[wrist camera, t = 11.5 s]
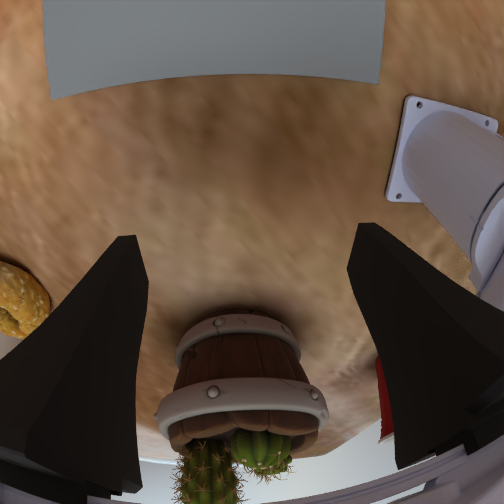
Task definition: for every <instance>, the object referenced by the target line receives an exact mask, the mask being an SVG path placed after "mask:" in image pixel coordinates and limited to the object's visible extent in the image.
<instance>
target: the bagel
mask: <svg viewBox="0 0 504 504" xmlns="http://www.w3.org/2000/svg"><path fill="white" fill-rule="evenodd" d="M49 312H50V300H49V295H48V293H47V292H46V291H45V290H44V288H43V287H42V285H41V284H39V283H38V282H37V281H36V280H35V278H34V277H33V276H32V275H31V274H28V273H27V272H25V271H24V270H22V269H20V268H18V267H16V266H13V265H11V264H9V263H6V262H3V261H0V331H1V332H2V333H3V334H5V335H7V336H14V337H17V338H22V339H25V338H26V337H27V336H28V335H29V334H31V333H32V332H33V331H34V330H35V329H36V328H37V327H38V326H39V325H40V324H41V323H42V322H43V321H44V320H45V319H46V318H47V317H48V316H49Z"/></svg>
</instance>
